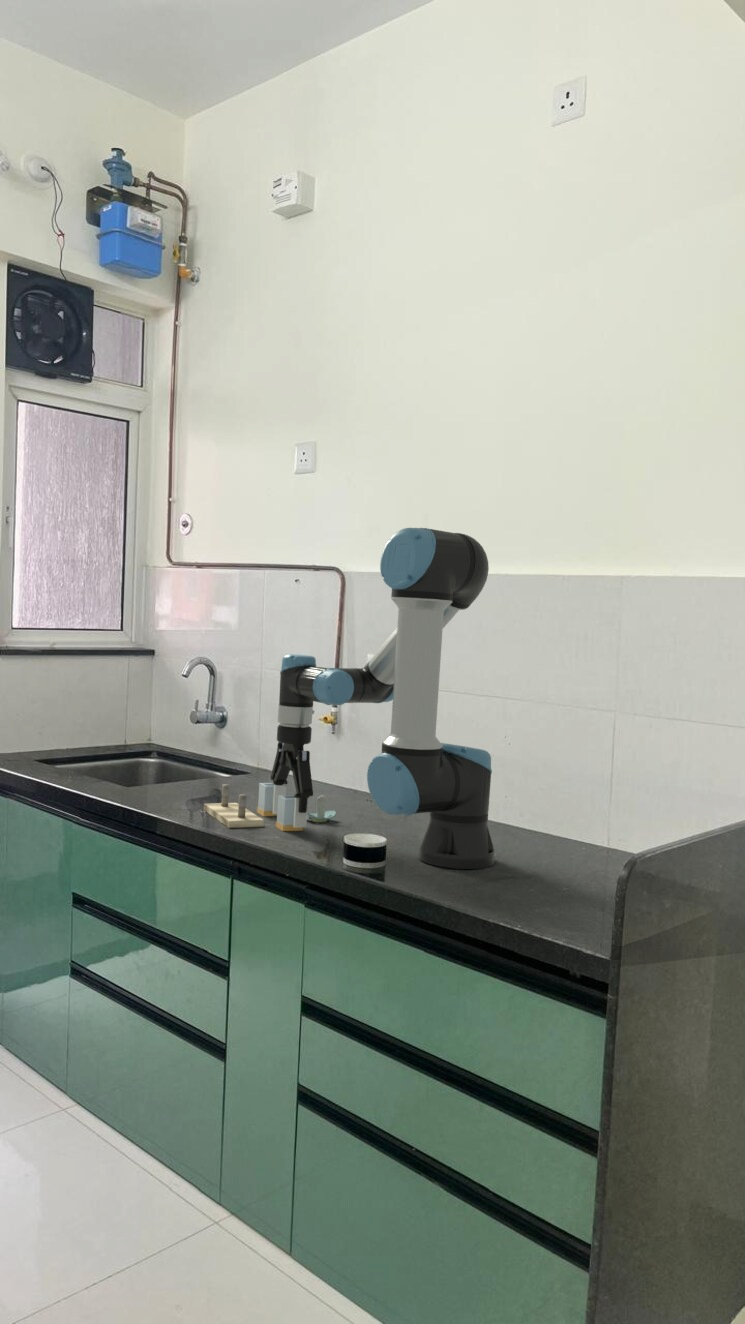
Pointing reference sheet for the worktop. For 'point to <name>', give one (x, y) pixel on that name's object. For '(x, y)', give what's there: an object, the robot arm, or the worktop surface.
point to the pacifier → (321, 811)
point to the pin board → (233, 812)
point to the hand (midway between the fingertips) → (288, 820)
